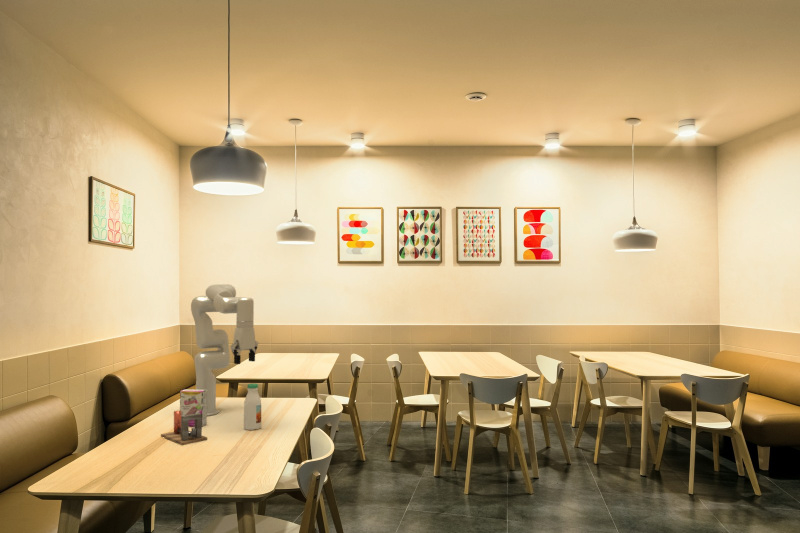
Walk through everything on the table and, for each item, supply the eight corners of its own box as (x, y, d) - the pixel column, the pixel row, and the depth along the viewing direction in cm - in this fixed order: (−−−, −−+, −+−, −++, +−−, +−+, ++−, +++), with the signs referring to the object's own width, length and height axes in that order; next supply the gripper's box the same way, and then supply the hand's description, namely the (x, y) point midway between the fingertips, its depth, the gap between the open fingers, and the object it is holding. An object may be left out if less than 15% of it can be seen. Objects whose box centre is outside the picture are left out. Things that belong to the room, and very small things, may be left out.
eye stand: (160, 436, 240) (161, 411, 240) (185, 431, 248) (185, 407, 248) (181, 445, 226) (182, 418, 227) (207, 439, 234) (207, 413, 235)
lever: (172, 432, 241) (172, 411, 242) (179, 431, 243) (179, 410, 244) (191, 439, 229) (191, 417, 230) (198, 438, 231) (198, 416, 232)
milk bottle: (250, 431, 248) (251, 386, 249) (240, 428, 253) (240, 384, 253) (264, 427, 254) (265, 383, 255) (254, 425, 259) (254, 382, 260)
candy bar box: (179, 426, 257) (179, 390, 258) (184, 424, 262) (184, 389, 263) (202, 427, 256) (202, 391, 257) (207, 424, 261) (207, 389, 262)
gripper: (251, 323, 263) (250, 359, 263) (225, 325, 248) (224, 364, 247) (263, 323, 260) (263, 360, 259) (238, 326, 245) (237, 365, 244)
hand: (244, 362), depth 253 cm, fingers open, 9 cm apart
